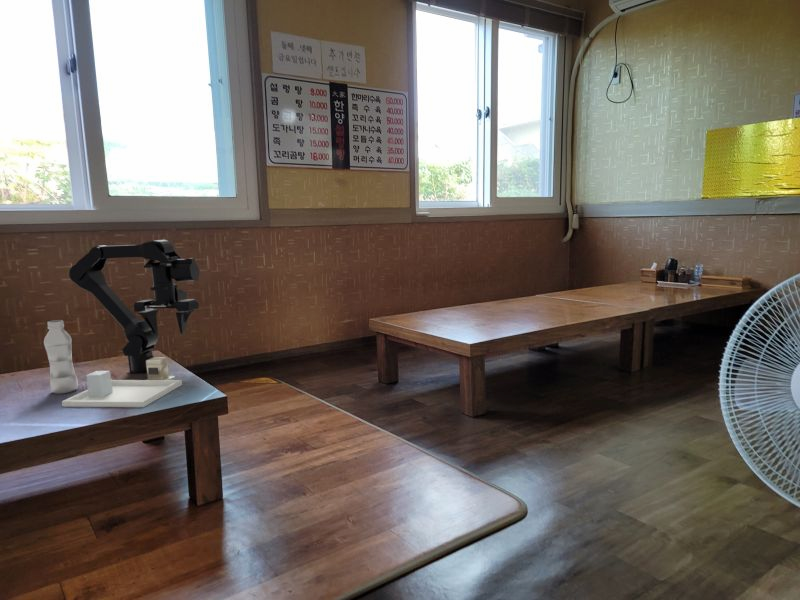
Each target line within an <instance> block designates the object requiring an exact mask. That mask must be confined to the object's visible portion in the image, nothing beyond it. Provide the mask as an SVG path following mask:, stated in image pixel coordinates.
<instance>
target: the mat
mask: <svg viewBox="0 0 800 600" xmlns="http://www.w3.org/2000/svg"><path fill="white" fill-rule="evenodd" d="M175 377H176V375H169V377H168V378H166V379H164V380H173V378H175ZM146 380H148V378H147V379H146Z"/></svg>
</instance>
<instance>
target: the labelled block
mask: <svg viewBox="0 0 800 600" xmlns="http://www.w3.org/2000/svg"><path fill="white" fill-rule="evenodd" d="M168 365H169V364H168V357H167V356H162V357H161V356H159V357H158V356H154V357H153V358H151V359H149V360H147V361H146V366H147V373H146V375H147V379H148V380H164V379H166V378H168V377H169V376H170V375H169V367H168Z"/></svg>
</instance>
